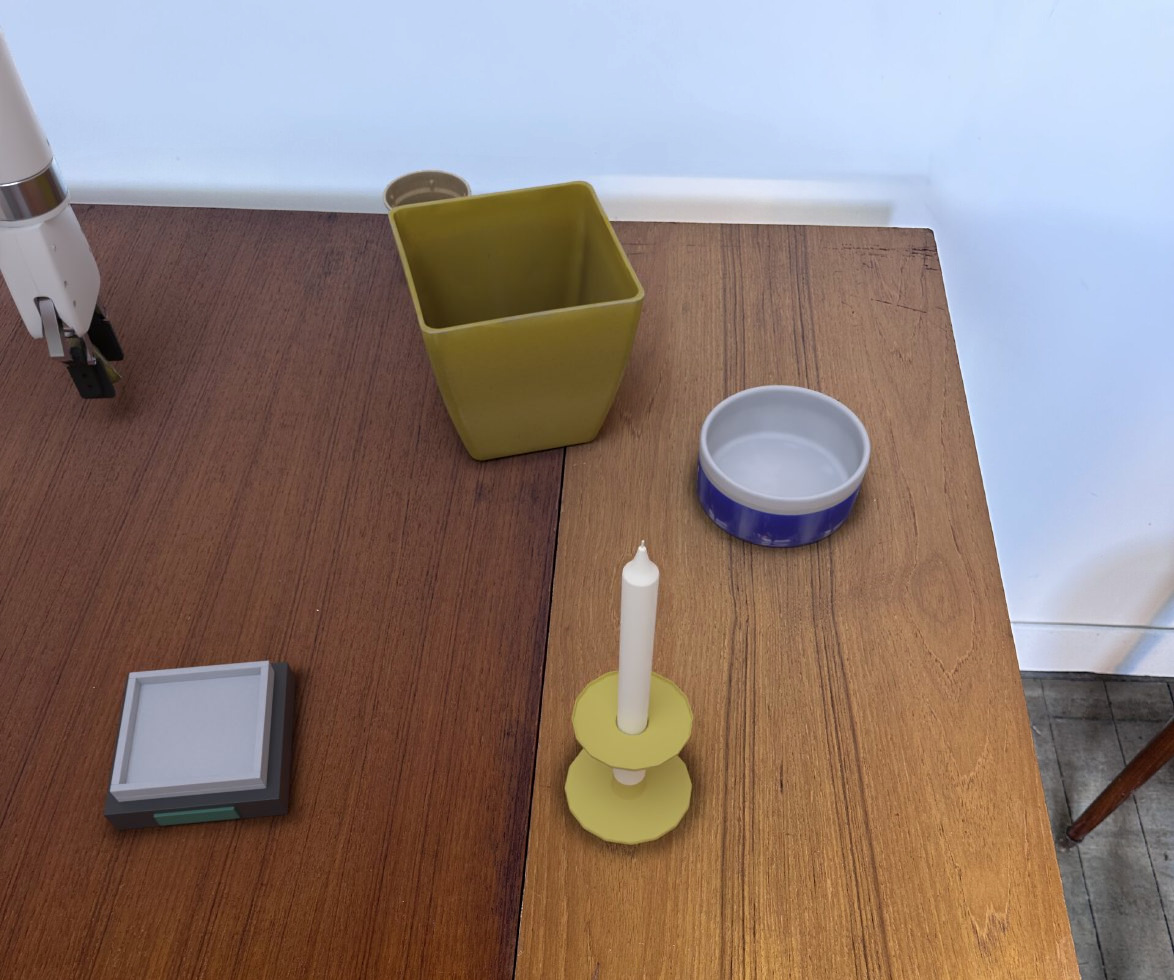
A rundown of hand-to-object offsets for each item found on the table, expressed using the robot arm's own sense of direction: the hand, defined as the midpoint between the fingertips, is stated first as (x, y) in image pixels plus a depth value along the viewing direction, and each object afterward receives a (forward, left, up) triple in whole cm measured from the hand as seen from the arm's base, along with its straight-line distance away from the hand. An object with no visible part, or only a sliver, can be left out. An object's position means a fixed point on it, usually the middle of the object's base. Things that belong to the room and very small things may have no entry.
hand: (103, 376), depth 95 cm
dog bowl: (+64, -19, -4) cm, 67 cm away
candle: (+46, -50, -4) cm, 68 cm away
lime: (0, 0, -1) cm, 1 cm away
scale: (+13, -43, -4) cm, 45 cm away
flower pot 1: (+33, +20, -4) cm, 39 cm away
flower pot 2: (+41, -5, -4) cm, 41 cm away
